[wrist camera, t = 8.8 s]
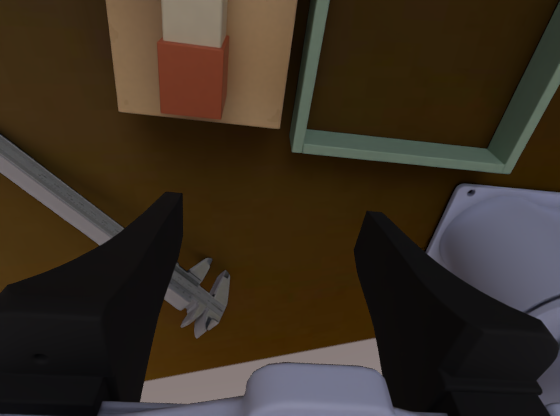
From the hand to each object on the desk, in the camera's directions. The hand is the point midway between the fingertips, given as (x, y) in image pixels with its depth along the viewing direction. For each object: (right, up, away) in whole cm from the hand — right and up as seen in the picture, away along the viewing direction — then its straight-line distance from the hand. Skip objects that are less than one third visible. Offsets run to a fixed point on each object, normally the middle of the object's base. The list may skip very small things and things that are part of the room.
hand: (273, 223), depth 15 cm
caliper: (-11, +1, +10) cm, 15 cm away
